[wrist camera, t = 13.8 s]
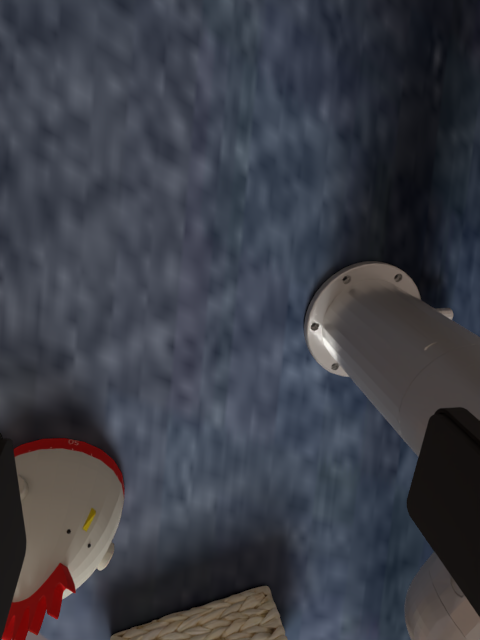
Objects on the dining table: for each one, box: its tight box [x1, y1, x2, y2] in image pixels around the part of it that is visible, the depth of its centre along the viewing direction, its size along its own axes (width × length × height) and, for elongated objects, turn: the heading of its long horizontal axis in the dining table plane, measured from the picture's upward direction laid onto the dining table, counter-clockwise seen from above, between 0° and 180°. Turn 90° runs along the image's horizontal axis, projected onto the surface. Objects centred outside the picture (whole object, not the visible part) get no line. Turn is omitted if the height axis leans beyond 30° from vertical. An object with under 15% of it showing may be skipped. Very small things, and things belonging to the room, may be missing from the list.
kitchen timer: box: [2, 438, 124, 640], centre depth 40 cm, size 14×14×15 cm
